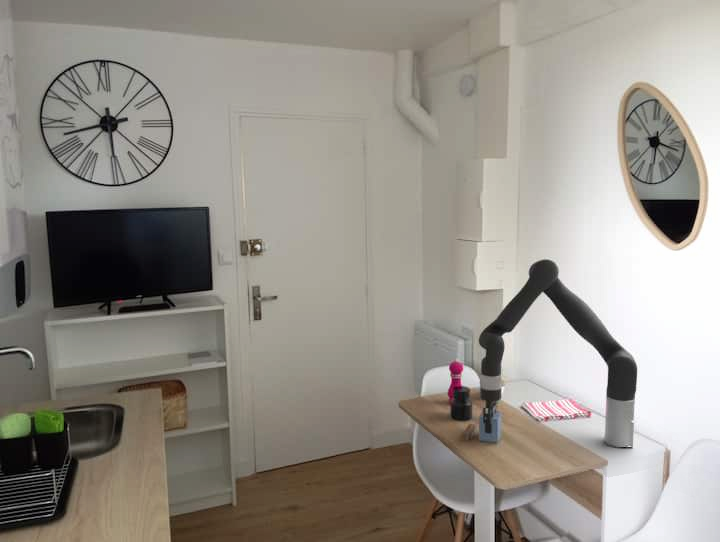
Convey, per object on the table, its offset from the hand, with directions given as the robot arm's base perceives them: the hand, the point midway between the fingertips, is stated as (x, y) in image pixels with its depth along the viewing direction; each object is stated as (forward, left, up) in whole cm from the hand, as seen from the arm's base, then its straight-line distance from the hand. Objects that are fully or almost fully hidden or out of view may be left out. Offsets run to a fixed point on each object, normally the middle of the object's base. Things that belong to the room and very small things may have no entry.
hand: (490, 429), depth 206 cm
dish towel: (-19, -36, -5) cm, 41 cm away
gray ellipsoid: (0, 0, -4) cm, 4 cm away
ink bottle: (+15, -16, -4) cm, 22 cm away
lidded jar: (+8, -42, -4) cm, 43 cm away
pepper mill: (+21, -30, -4) cm, 37 cm away
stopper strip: (+8, 0, -4) cm, 9 cm away
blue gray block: (0, 0, -3) cm, 3 cm away
